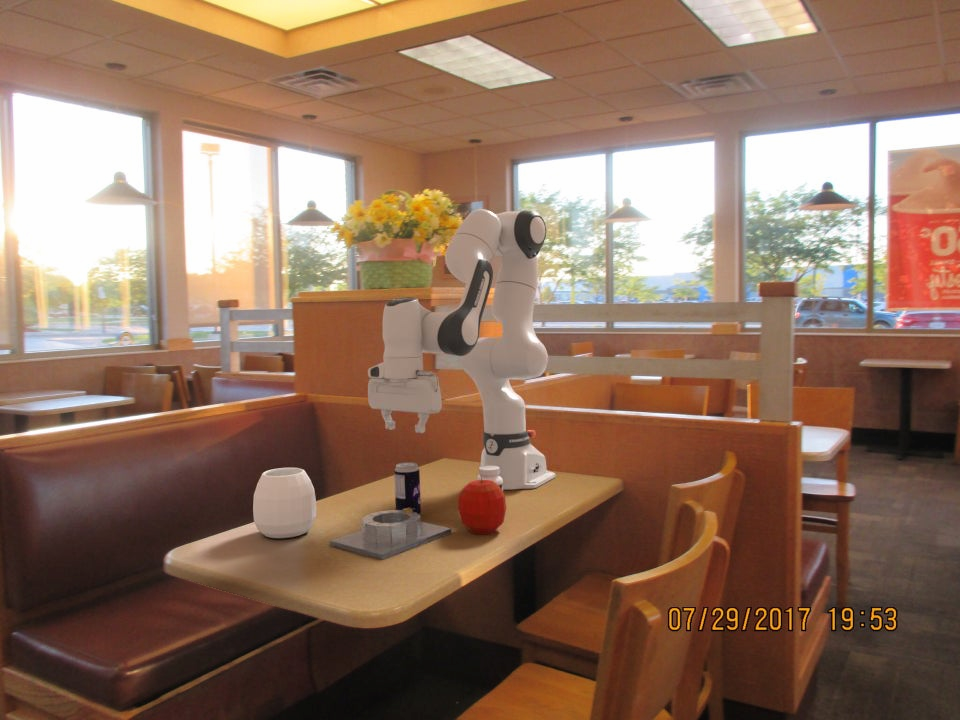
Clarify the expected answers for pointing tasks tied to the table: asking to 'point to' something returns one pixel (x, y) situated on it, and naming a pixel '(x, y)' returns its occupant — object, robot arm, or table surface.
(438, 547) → the table surface
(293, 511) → the cup
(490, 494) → the apple
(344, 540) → the hub plate
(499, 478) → the pill bottle
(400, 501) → the beverage can
